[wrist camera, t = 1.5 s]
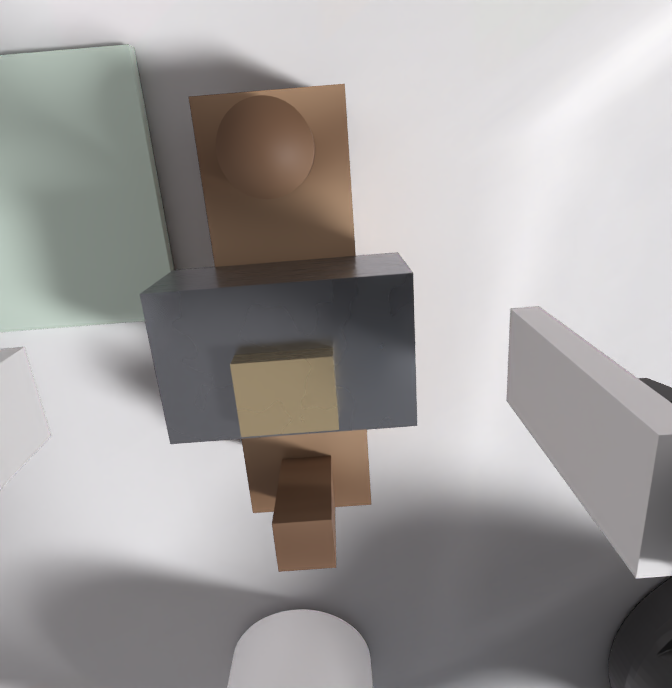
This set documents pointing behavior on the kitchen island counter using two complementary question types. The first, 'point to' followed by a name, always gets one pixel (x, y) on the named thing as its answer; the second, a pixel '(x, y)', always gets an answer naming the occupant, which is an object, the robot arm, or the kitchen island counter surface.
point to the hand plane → (276, 246)
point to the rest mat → (76, 190)
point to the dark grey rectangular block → (284, 347)
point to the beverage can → (301, 653)
